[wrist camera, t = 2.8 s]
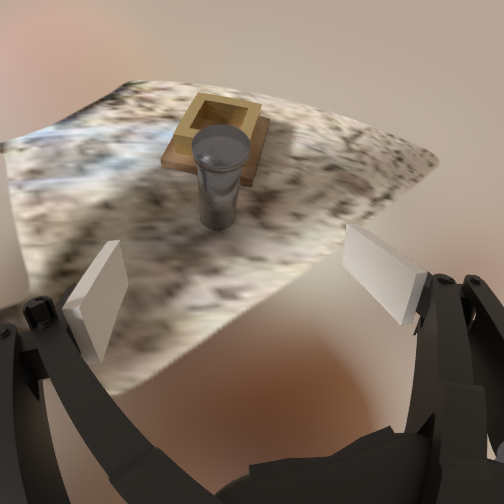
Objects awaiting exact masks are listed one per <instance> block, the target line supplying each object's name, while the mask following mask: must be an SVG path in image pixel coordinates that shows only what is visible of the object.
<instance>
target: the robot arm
mask: <svg viewBox="0 0 504 504" xmlns="http://www.w3.org/2000/svg"><path fill="white" fill-rule="evenodd" d="M342 266H343V267H344V268H345V269H346V270H347V271H348V272H349V273H350V274H351V275H352V276H353V277H354V278H355V279H356V280H357V281H358V282H359V283H360V284H361V285H362V286H363V287H364V288H365V289H366V290H367V291H368V292H369V293H370V294H371V295H372V296H373V297H374V298H375V299H376V300H377V301H378V302H379V303H380V304H381V305H382V306H383V308H384V309H385V310H386V311H387V312H388V313H389V314H390V315H391V316H392V317H393V318H394V319H395V320H396V321H397V322H398V323H399V325H400V326H402V325H405V324H409V323H412V321H413V319H414V315H415V313H416V312H417V313H418V314H419V315H420V318H419V321H418V324H417V327H416V329H415V332H414V334H413V335H416V333H417V348H416V360H415V370H414V379H413V387H412V394H411V400H410V407H409V412H408V418H407V423H406V428H405V431H404V433H394V431H393V430H392V428H391V426H388V427H386V428H384V429H381V430H379V431H376V432H373V433H371V434H368V435H366V436H363V437H360V438H359V439H358V440H356V441H354V442H353V443H351V444H350V445H348V446H346V447H345V448H343V449H342V450H340V451H338V452H337V453H335V454H333V455H332V456H328V457H314V458H286V459H282V460H277V461H271V462H266V463H260V464H254V465H249V474H247V475H244V476H242V477H240V478H238V479H236V480H233V481H232V482H230V483H229V484H227V485H225V486H224V487H223V488H222V489H220V490H219V491H218V492H217V493H216V494H215V495H213V494H211V493H210V492H209V491H208V490H206V489H205V488H204V487H202V486H201V485H200V484H199V483H198V482H196V481H195V480H194V479H193V478H191V477H190V476H189V475H188V474H187V473H186V472H185V471H183V470H182V469H181V468H180V467H179V466H178V465H177V464H176V463H175V462H173V461H172V460H171V459H170V458H169V457H168V456H167V455H166V454H165V453H164V452H163V451H162V450H160V449H159V448H158V447H157V448H156V447H154V446H153V445H152V444H151V443H150V442H149V441H148V440H147V439H146V438H145V437H144V436H143V435H142V434H141V432H140V431H139V430H138V429H137V428H136V427H135V426H134V425H133V424H132V422H131V421H130V420H129V419H128V418H127V417H126V415H125V414H124V413H123V412H122V411H121V409H120V408H119V407H118V406H117V405H116V403H115V402H114V401H113V399H112V398H111V397H110V396H109V394H108V393H107V392H106V390H105V389H104V388H103V386H102V385H101V384H100V382H99V381H98V379H97V378H96V377H95V375H94V374H93V372H92V371H91V370H90V368H89V367H88V365H87V364H93V365H102V362H103V359H104V356H105V352H106V349H107V346H108V343H109V339H110V336H111V333H112V330H113V327H114V324H115V321H116V318H117V315H118V313H119V310H120V307H121V304H122V301H123V299H124V296H125V293H126V291H127V288H128V285H129V282H128V277H127V272H126V268H125V263H124V258H123V253H122V247H121V242H120V240H113V241H107V243H106V244H105V245H104V247H103V248H102V249H101V251H100V252H99V254H98V255H97V256H96V258H95V259H94V261H93V262H92V263H91V265H90V266H89V268H88V269H87V271H86V272H85V274H84V275H83V277H82V278H81V280H80V281H79V283H74V284H72V285H71V286H70V287H69V288H67V289H66V291H65V292H64V294H63V295H62V297H61V298H60V300H59V302H58V303H57V304H56V306H55V307H54V305H53V302H52V299H51V298H50V297H49V296H39V297H36V298H33V299H32V300H30V301H29V302H27V303H26V304H25V306H24V307H23V313H24V316H25V318H26V320H27V322H28V325H29V327H30V329H31V330H30V331H26V332H22V333H18V331H17V329H16V327H15V325H13V324H5V325H1V326H0V504H71V503H70V500H69V498H68V495H67V492H66V489H65V486H64V483H63V480H62V477H61V473H60V471H59V467H58V463H57V459H56V456H55V452H54V447H53V443H52V438H51V434H50V429H49V423H48V419H47V412H46V405H45V398H44V390H43V380H42V379H46V378H50V379H51V381H52V384H53V385H54V387H55V390H56V392H57V394H58V396H59V398H60V400H61V402H62V404H63V405H64V407H65V409H66V411H67V413H68V415H69V416H70V418H71V420H72V422H73V424H74V425H75V427H76V429H77V430H78V432H79V434H80V435H81V437H82V438H83V440H84V441H85V443H86V445H87V446H88V447H89V449H90V451H91V452H92V453H93V455H94V457H95V458H96V459H97V461H98V462H99V464H100V465H101V466H102V468H103V469H104V470H105V472H106V473H107V474H108V476H109V481H110V482H111V484H112V485H113V486H114V488H115V489H116V490H117V491H118V493H119V494H120V495H121V496H122V498H123V499H124V500H125V501H126V502H127V503H128V504H504V307H503V305H502V304H501V303H500V301H499V300H498V298H497V297H496V296H495V294H494V293H493V292H492V291H491V289H490V288H489V287H488V285H487V284H486V283H485V281H483V280H482V279H481V278H480V277H478V276H476V275H466V277H465V279H464V282H463V284H456V282H455V280H454V279H453V278H451V277H449V276H447V275H444V274H435V275H432V274H430V273H429V272H428V271H426V270H425V269H424V268H422V267H421V266H419V265H418V264H417V263H415V262H414V261H412V260H411V259H409V258H408V257H407V256H405V255H404V254H402V253H401V252H399V251H398V250H397V249H395V248H394V247H392V246H391V245H389V244H388V243H386V242H385V241H383V240H381V239H380V238H379V237H377V236H376V235H374V234H373V233H371V232H370V231H368V230H366V229H365V228H363V227H362V226H360V225H359V224H347V225H346V234H345V243H344V251H343V258H342ZM475 313H476V316H475V319H474V320H473V318H474V315H475ZM81 355H82V356H81ZM82 357H83V358H82ZM487 434H488V437H489V441H490V443H491V446H492V449H493V451H494V453H495V455H496V459H494V460H491V459H488V458H487Z"/></svg>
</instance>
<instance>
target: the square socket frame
mask: <svg viewBox="0 0 504 504" xmlns="http://www.w3.org/2000/svg"><path fill="white" fill-rule="evenodd" d="M261 106H262V104H258V103H253V102H249V101H244V100H239V99H234V98H229V97H223V96H217V95H211V94H205V93H198V94H197V95H196V97H195V98H194V100H193V102H192V103H191V105H190V106H189V108H188V110H187V111H186V113H185V115H184V116H183V118H182V120H181V121H180V123H179V125H178V127H177V128H176V130H175V132H174V134H173V137H174V145H175V153H177V154H182V155H188V156H192V140H193V138H194V136H195V135H196V134H197V133H198V132H199V131H200V130H199V129H200V127H201V125H202V123H203V121H204V119H211V120H216V121H221V122H226V123H231V124H236V125H241V126H242V127H241V129H240V130H242V131H243V132H244V133H245V134H246V135H247V136H248V138H249V140H250V146H251V143H252V140H253V137H254V134H255V131H256V128H257V125H258V121H259V116H260V111H261ZM244 165H245V164H244ZM244 165H243V166H242V167H243V168H244Z"/></svg>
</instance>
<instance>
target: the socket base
mask: <svg viewBox="0 0 504 504" xmlns="http://www.w3.org/2000/svg"><path fill="white" fill-rule="evenodd" d="M269 121H270V119H269V118H265V117H261V116H259V121H258V125H257V128H256V131H255V134H254V137H253V140H252V143H251V146H250V152H249V157H248V160H247V162H246V163H245V165H244V168H243V167H242V171H241V177H240V184H243V185H247V186H251V187H252V183H253V179H254V176H255V172H256V168H257V165H258V161H259V158H260V154H261V150H262V147H263V143H264V140H265V136H266V133H267V129H268V125H269ZM217 124H224V125H230V126H234V127H236V128H238V129H241V127H242V126H241V125H236V124H231V123H226V122H221V121H216V120H211V119H204V121H203V123H202V125H201V127H200V129H199V130H201V129H203V128H205V127H208V126H211V125H217ZM161 165H162V167H164V168H170V169H175V170H180V171H184V172H189V173H194V174H198V168H197V164H196V163H195V161H194V159H193V156H188V155H182V154H177V153H175V145H174V137H172V139H171V141H170V143H169V145H168V147H167V148H166V150H165V152H164V154H163V156H162V158H161Z"/></svg>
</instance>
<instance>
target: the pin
mask: <svg viewBox="0 0 504 504" xmlns="http://www.w3.org/2000/svg"><path fill="white" fill-rule="evenodd" d="M249 152H250V140H249V138H248V136H247V135H246V134H245V133H244V132H243V131H242V130H240V129H238V128H236V127H234V126H230V125H224V124H217V125H211V126H208V127H205V128H203V129H201V130H200V131H199V132H198V133H197V134H196V135H195V136H194V138H193V140H192V156H193V159H194V161H195V163H196V164H197V168H198V187H199V203H200V217H201V220H202V222H203V224H204V225H205V226H207V227H208V228H210V229H214V230H221V229H225V228H227V227H228V226H230V225H231V223H232V222H233V220H234V216H235V210H236V203H237V197H238V190H239V184H240V177H241V171H242V166H243V165H244V164H245V163H246V162H247V160H248V157H249Z"/></svg>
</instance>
